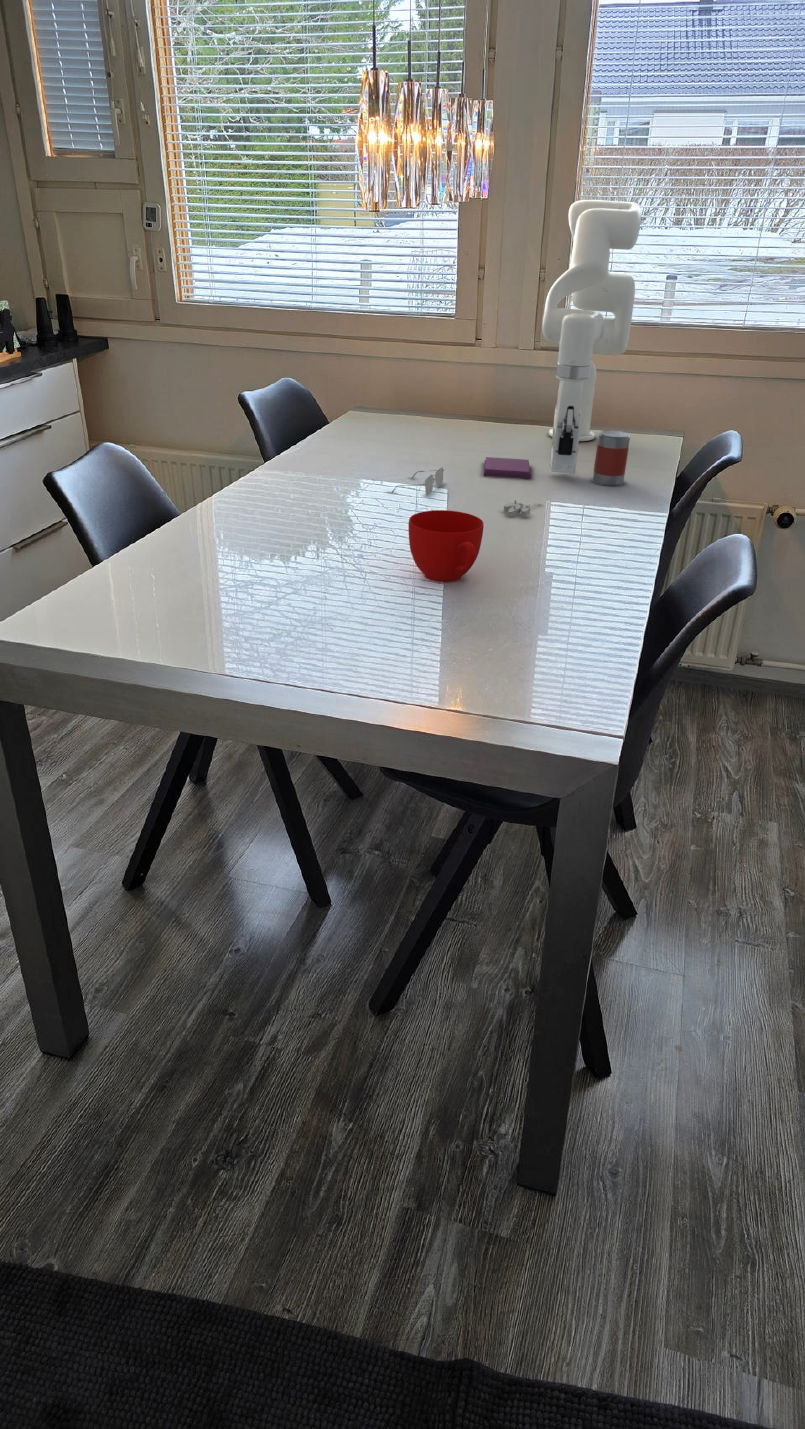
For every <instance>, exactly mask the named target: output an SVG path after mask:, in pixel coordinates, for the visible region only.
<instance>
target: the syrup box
mask: <svg viewBox="0 0 805 1429" xmlns="http://www.w3.org/2000/svg"><path fill="white" fill-rule="evenodd" d="M554 407H555V408H554V418H553V426H552V429H553V437H551V438H552V439H551V449H550V450H551V451H550V457H549V467H550V470H551V473H558V474H559V473H561V474H576V469H577V461H578V460H577V459H578V454H579V452H578V451H579V443H580V441H579V433H580V422H581V413H582V412H581V410H580V412H579V418H578V423H577V425H575V424H574V425H575V426H574V433H573V438H574V440H573V448H572V455H559V454H558V447H559V439H560V437H561V430H562V423H559V425H558V424H557V423H556V414H557V409H556V406H554ZM567 408H568V407H567ZM575 421H576V420H575ZM572 423H573V422H572ZM564 424H567V421H564ZM565 428H566V427H564V429H565Z"/></svg>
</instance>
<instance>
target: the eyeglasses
mask: <svg viewBox="0 0 805 1429" xmlns="http://www.w3.org/2000/svg"><path fill="white" fill-rule="evenodd" d="M422 472H425V470H419V471H416V472H415V473H414V474H413V476H412V477H411V479H414V477H415V476H416V474H418V473H422ZM430 472H435V473H434V474H430V475H429V476H428V477H427V478H426V479H425V480H424V483H422V484H421V483H420V484H419V483H418V484H417V483H416V484H403V485H401V484H400V485H396V486H395V487H394V488H393V489H392V491H391V493H394V492H395V490H396V489H397V487H398V488H399V487H410V486H411V487H412V486H414V487H415V486H424V490H425V495H426V496H430V495H431V493H432V492H433V488H434V484H435V486H436V487H437V488H440V487H441V486H442V485H443V482H444V472H445V469H444V467H440V468H438V469H434V470H430Z"/></svg>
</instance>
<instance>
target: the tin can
mask: <svg viewBox="0 0 805 1429" xmlns="http://www.w3.org/2000/svg"><path fill="white" fill-rule="evenodd" d="M630 440H631V436H630V434H629V433H627V432H624V431H620V430H603V431H600V432H599V433H598V437H597V443H596V450H595V458H594V464H593V473H592V482H593V483H594V484H597V485H601V486H607V487H619V486H622V485H624V481H625V475H626V469H627V463H628V462H627V461H628V456H629V455H628V454H629V449H630V448H629V447H630Z"/></svg>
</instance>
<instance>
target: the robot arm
mask: <svg viewBox="0 0 805 1429" xmlns="http://www.w3.org/2000/svg"><path fill="white" fill-rule="evenodd" d="M641 223H642V210H641V207H640V205H639V204H638V203H636V202H634V201H633V202H632V201H620V200H618V201H617V200H605V199H604V200H603V199H581V200H577V201H575V202H573V203H571V205H570V206H569V209H568V225H569V229H570V233H571V236H572V239H573V244H572V252H571V258H570V265H569V268H568V269H567V270H566V271H565V272H563V273H562V274H561V275H560V276H559V277H558V278H557V279H556V281H554V283H553V284H552V286H551V287H550V289H549V291H548V293H547V296H546V298H545V304H544V310H543V316H542V324H541V326H542V327H541V331H542V336H543V339H545V341H547V342H549V343H554V344H559V346H558V355H557V364H556V365H557V366H556V372H555V373H556V375H555V378H556V379H557V380H559V384H558V391H557V398H556V405H555V407H556V409H557V414H556V423H557V424H558V425H559V423H562V430H561V437H560V439H559V447H558V454H559V455H572V448H573V440H574V438H573V433H574V426H575V425H577V423H578V418H579V412H580V410H581V412H582V413H581V422H580V433H579V442H589V441H593V440H594V439H595V435H596V434H595V433H594V431H591V422H592V414H593V408H594V407H593V406H594V399H595V391H596V383H597V377H598V376H597V375H598V373H597V368H596V365H595V363H594V361H593V360H592V359H593V355H600V356H621V355H624V353H625V352H626V351H627V348H628V345H629V340H630V335H631V334H630V333H631V327H632V319H633V312H634V305H635V304H634V303H635V296H636V283H635V279H634V276H632V275H631V274H629V273H626V272H616V271H615V272H614V271H609V264H610V256H611V250H625V251H626V250H627V251H628V250H632V249H633V248H634V247H635V245H636V244H637V242H638V239H639V234H640V228H641ZM570 295H571V297H572V298H571V301H572V304H573V307H575V308H562V307H558V306H559V303H560V302H561V301H562V300H563V299H565V298H566V297H568V296H570ZM602 312H603V313H611V314H613V315H614V316H607V315H606V316H605V315H603V314H602ZM567 407H568V408H567ZM575 420H576V421H575ZM564 421H567V424H564ZM572 422H573V423H572ZM574 424H575V425H574ZM564 427H566V428H565V429H564ZM548 435H549V437H551V438H552V437H553V428H550V429H549V431H548Z"/></svg>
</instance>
